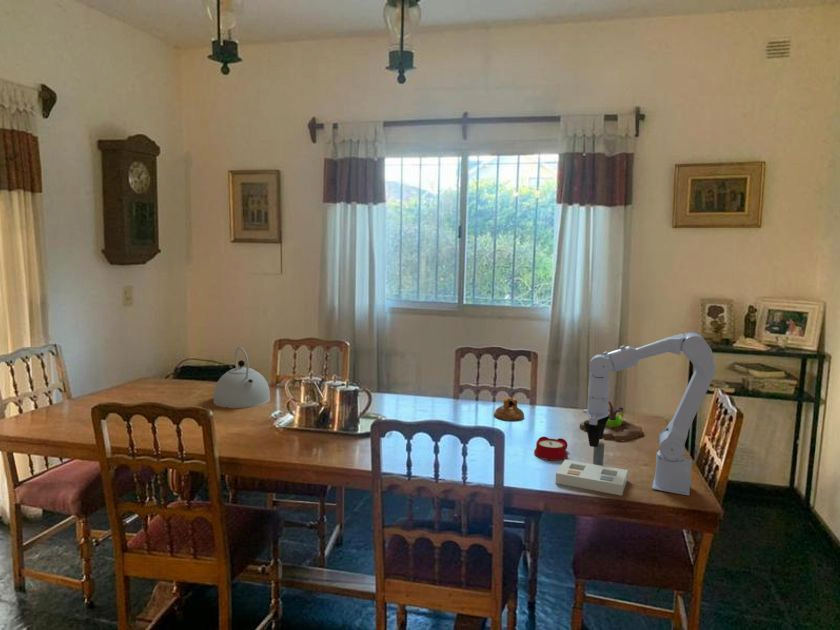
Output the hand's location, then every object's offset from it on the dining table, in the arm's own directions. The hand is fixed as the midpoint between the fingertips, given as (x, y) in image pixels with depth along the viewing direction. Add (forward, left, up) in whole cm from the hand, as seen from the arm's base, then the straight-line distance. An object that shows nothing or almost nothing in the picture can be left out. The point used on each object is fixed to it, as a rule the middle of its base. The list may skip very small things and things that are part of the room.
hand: (595, 442), depth 174 cm
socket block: (0, +4, -10) cm, 11 cm away
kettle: (+145, -15, -11) cm, 146 cm away
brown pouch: (+40, -47, -11) cm, 63 cm away
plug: (0, -7, -10) cm, 13 cm away
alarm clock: (+16, -14, -11) cm, 24 cm away
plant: (+2, -47, -11) cm, 48 cm away
